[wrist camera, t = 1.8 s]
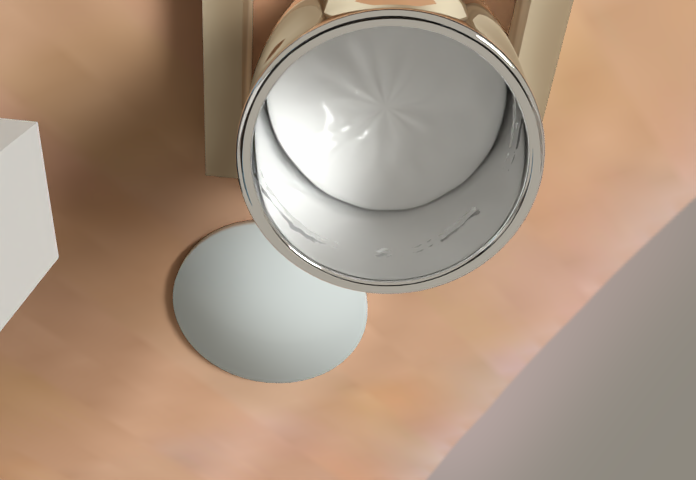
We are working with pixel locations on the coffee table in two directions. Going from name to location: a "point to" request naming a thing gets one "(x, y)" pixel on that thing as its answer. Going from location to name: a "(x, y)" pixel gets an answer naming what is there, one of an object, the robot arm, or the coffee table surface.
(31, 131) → the robot arm
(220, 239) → the white glossy dome
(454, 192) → the silver tall cylindrical piece
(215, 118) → the frame
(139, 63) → the coffee table surface
